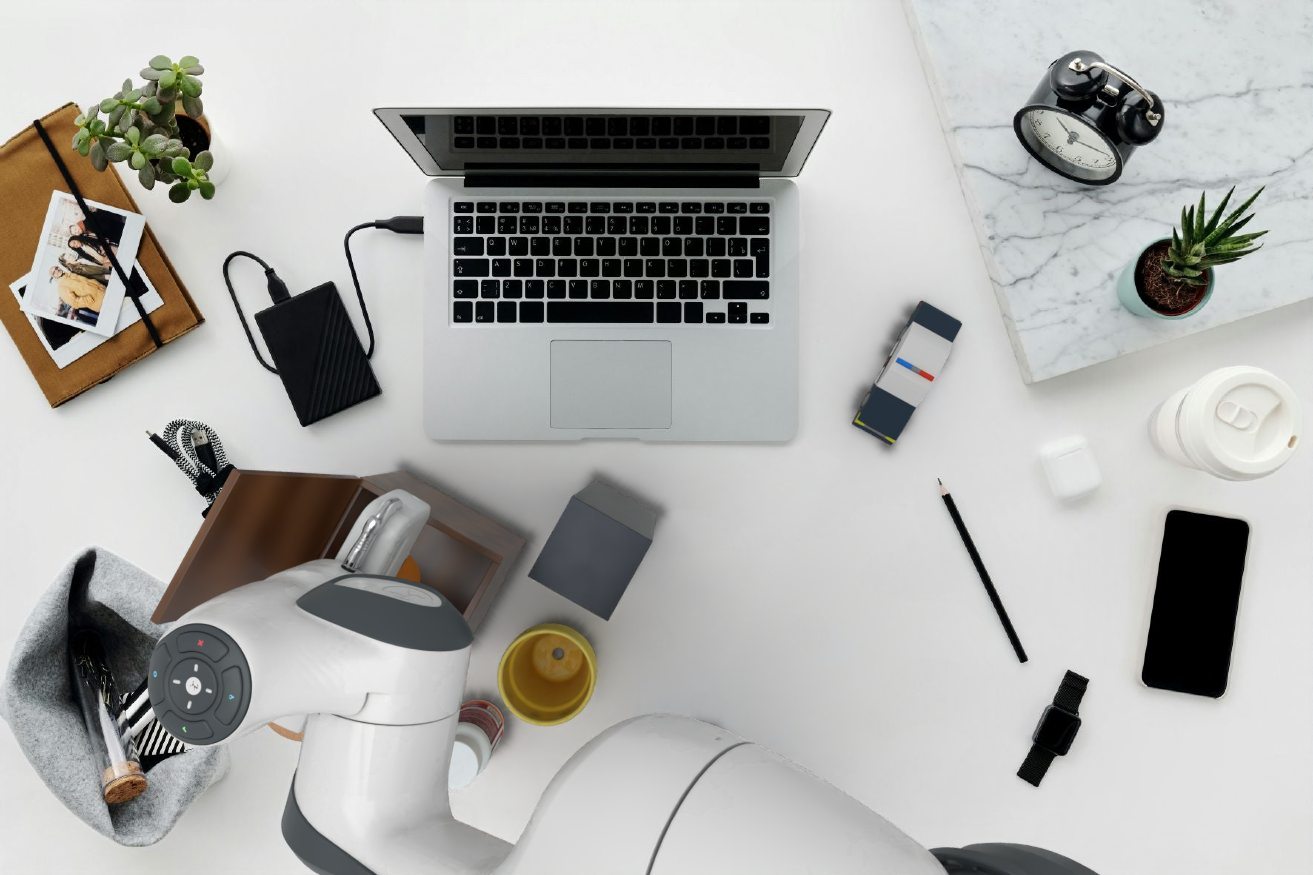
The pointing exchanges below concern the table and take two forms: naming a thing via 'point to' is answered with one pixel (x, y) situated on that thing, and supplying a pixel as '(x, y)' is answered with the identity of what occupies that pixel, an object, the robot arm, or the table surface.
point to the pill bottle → (474, 741)
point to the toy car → (908, 373)
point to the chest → (442, 543)
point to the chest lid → (256, 534)
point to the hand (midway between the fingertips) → (382, 584)
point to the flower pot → (547, 675)
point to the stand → (596, 548)
